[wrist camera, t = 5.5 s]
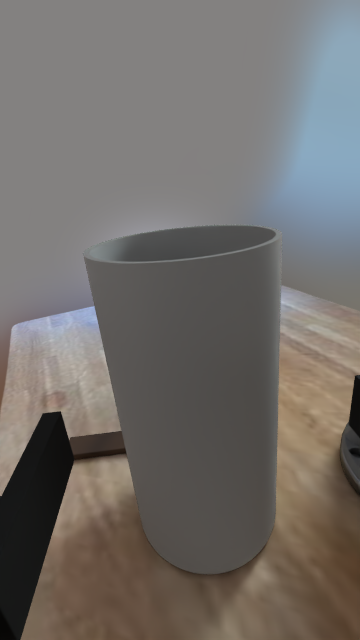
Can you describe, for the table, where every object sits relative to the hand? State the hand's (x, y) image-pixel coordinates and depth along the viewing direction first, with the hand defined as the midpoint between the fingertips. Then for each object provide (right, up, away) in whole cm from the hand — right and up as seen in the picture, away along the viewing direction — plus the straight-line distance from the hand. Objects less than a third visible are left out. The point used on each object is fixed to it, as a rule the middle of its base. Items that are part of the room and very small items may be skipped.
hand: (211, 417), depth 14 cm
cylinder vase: (+1, -13, +16) cm, 21 cm away
